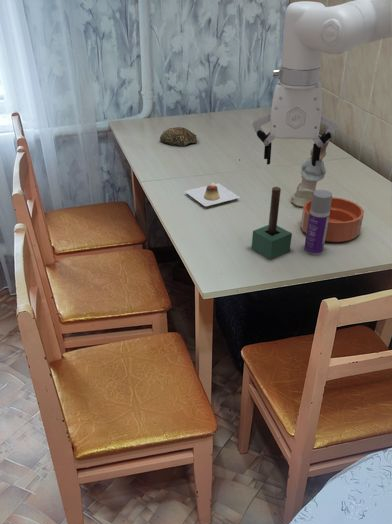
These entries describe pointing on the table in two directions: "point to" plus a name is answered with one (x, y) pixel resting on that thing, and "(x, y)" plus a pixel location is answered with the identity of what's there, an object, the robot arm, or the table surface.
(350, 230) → the bowl
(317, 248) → the container
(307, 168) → the figurine
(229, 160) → the table surface
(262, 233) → the holder
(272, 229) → the stick
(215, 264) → the table surface
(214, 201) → the dessert
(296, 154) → the table surface
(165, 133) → the brown rock
